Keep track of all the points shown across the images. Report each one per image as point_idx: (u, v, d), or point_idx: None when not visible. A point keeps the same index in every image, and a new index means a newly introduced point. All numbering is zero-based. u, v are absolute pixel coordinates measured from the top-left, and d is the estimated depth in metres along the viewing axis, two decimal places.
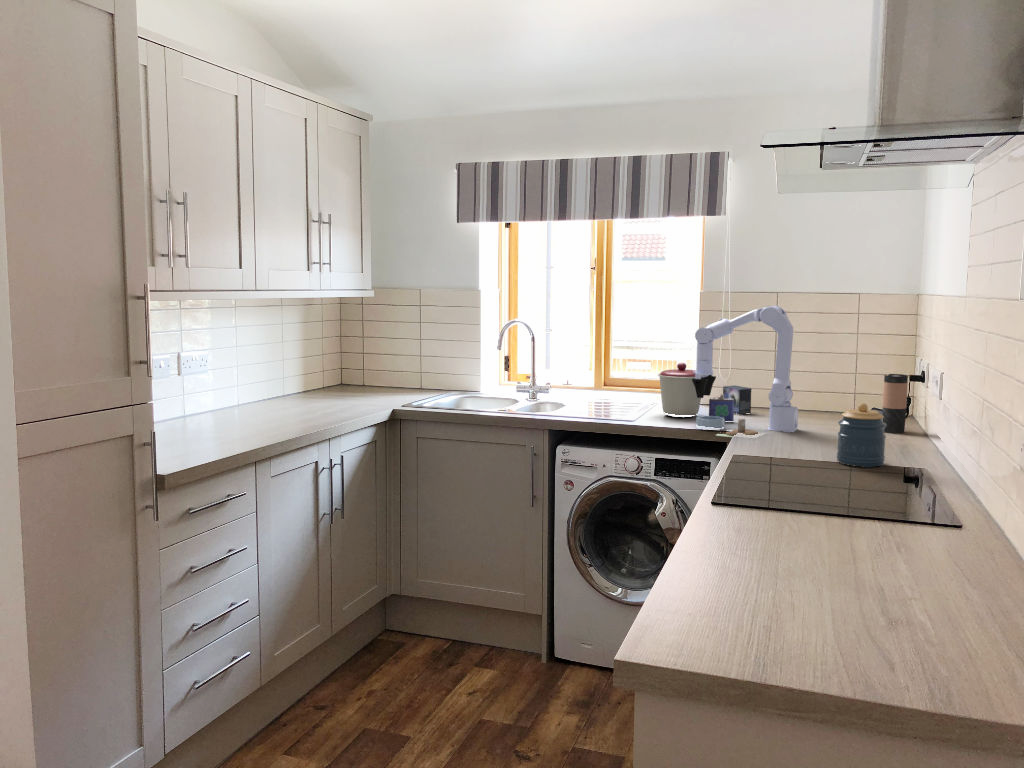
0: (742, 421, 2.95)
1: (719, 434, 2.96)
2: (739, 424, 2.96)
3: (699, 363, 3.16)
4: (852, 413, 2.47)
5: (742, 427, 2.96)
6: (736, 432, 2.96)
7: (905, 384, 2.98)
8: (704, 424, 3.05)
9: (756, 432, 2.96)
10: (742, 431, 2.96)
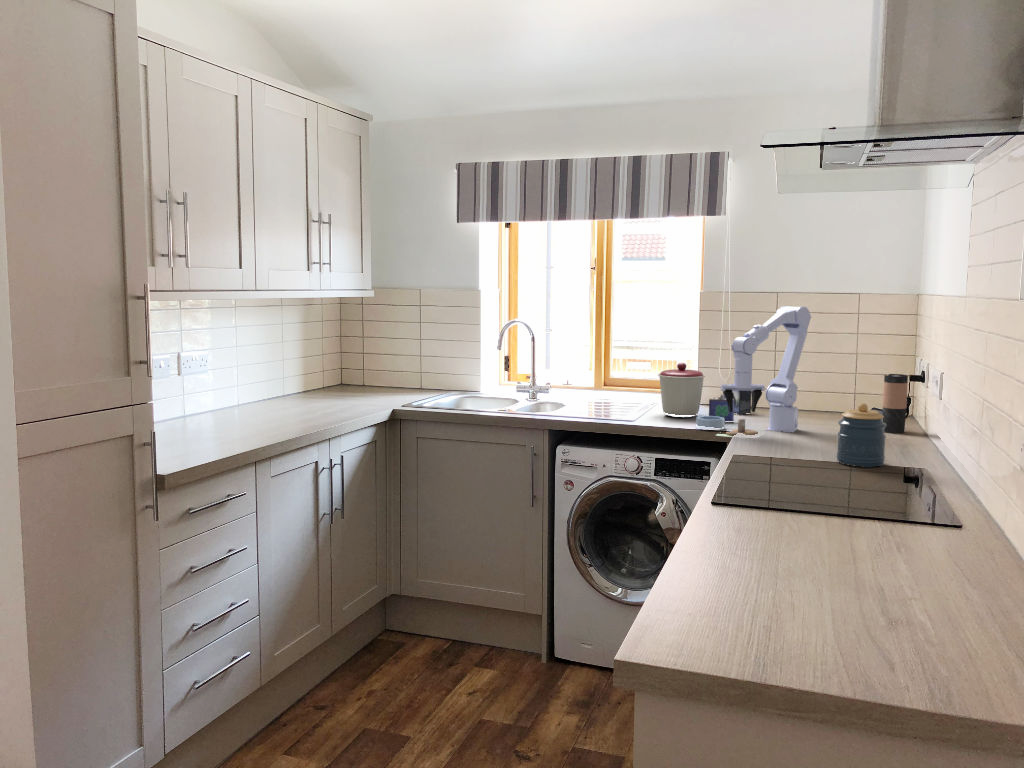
0: (742, 421, 2.95)
1: (719, 434, 2.96)
2: (739, 424, 2.96)
3: None
4: (852, 413, 2.47)
5: (742, 427, 2.96)
6: (736, 432, 2.96)
7: (905, 384, 2.98)
8: (704, 424, 3.05)
9: (756, 432, 2.96)
10: (742, 431, 2.96)
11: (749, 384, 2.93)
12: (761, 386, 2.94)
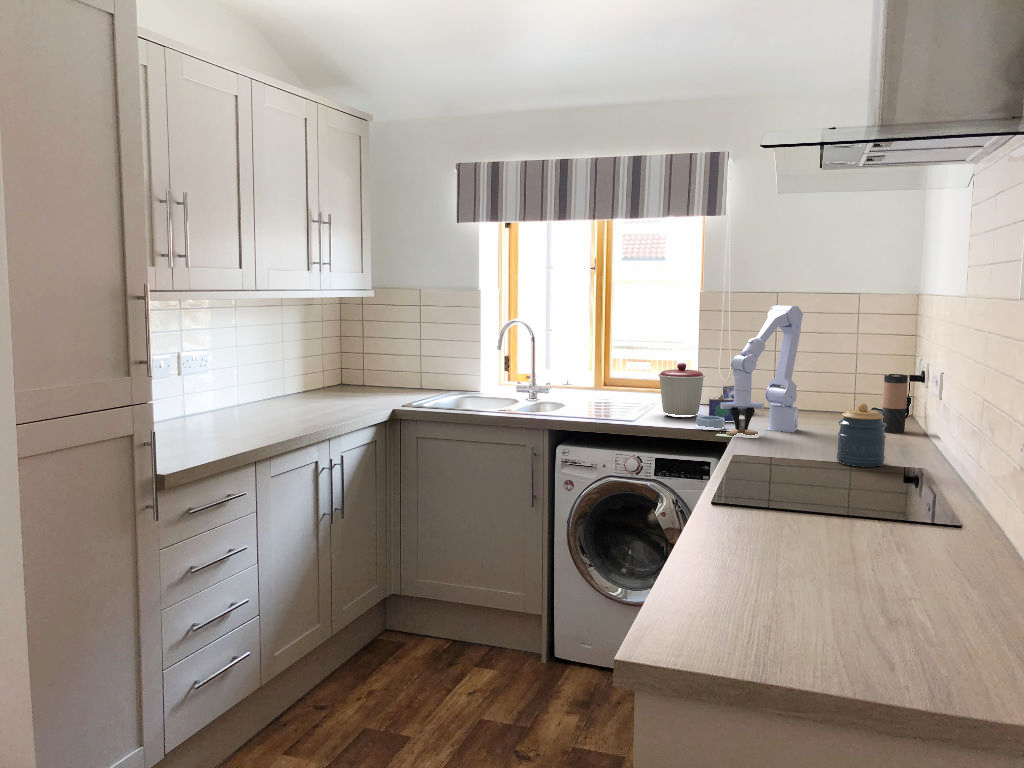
0: (742, 421, 2.95)
1: (719, 434, 2.96)
2: (739, 424, 2.96)
3: None
4: (852, 413, 2.47)
5: (742, 427, 2.96)
6: (736, 432, 2.96)
7: (905, 384, 2.98)
8: (704, 424, 3.05)
9: (756, 432, 2.96)
10: (742, 431, 2.96)
11: (748, 402, 2.93)
12: (760, 404, 2.95)
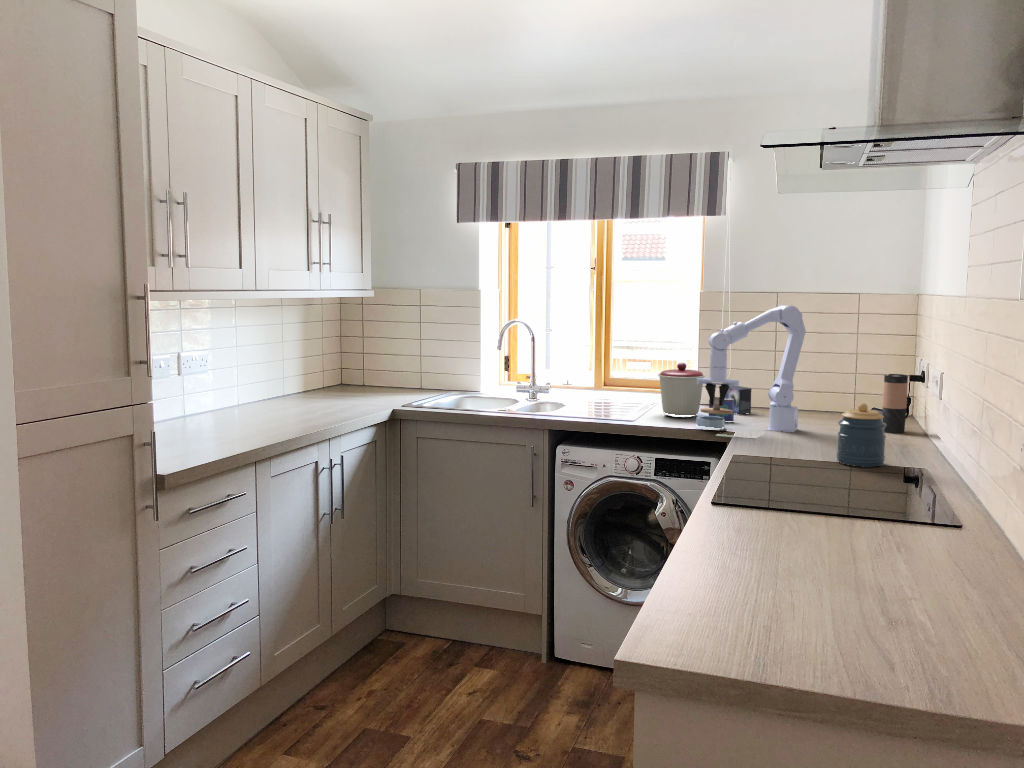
0: (716, 399, 3.04)
1: (719, 434, 2.96)
2: (714, 402, 3.04)
3: None
4: (852, 413, 2.47)
5: (716, 405, 3.04)
6: (710, 409, 3.04)
7: (905, 384, 2.98)
8: (704, 424, 3.05)
9: (729, 411, 3.02)
10: (716, 409, 3.04)
11: (720, 378, 3.01)
12: (734, 381, 3.00)
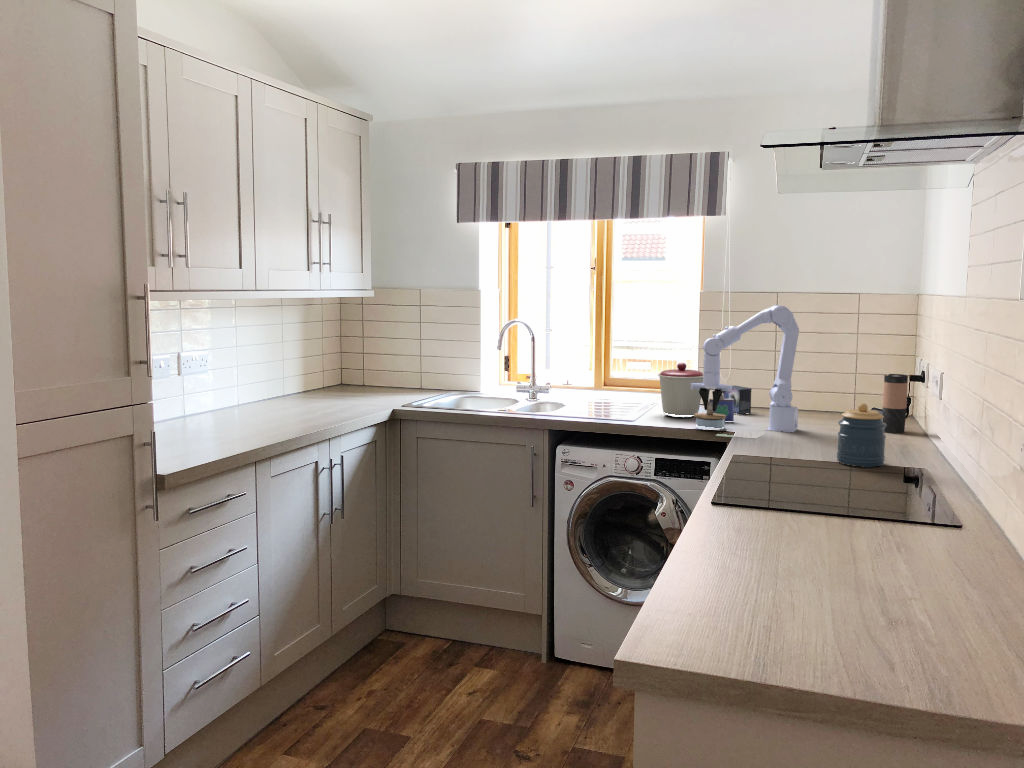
0: (709, 404, 3.06)
1: (719, 434, 2.96)
2: (707, 407, 3.07)
3: None
4: (852, 413, 2.47)
5: (709, 410, 3.07)
6: (703, 414, 3.07)
7: (905, 384, 2.98)
8: (704, 424, 3.05)
9: (723, 416, 3.05)
10: (709, 414, 3.07)
11: (713, 384, 3.04)
12: (727, 386, 3.03)
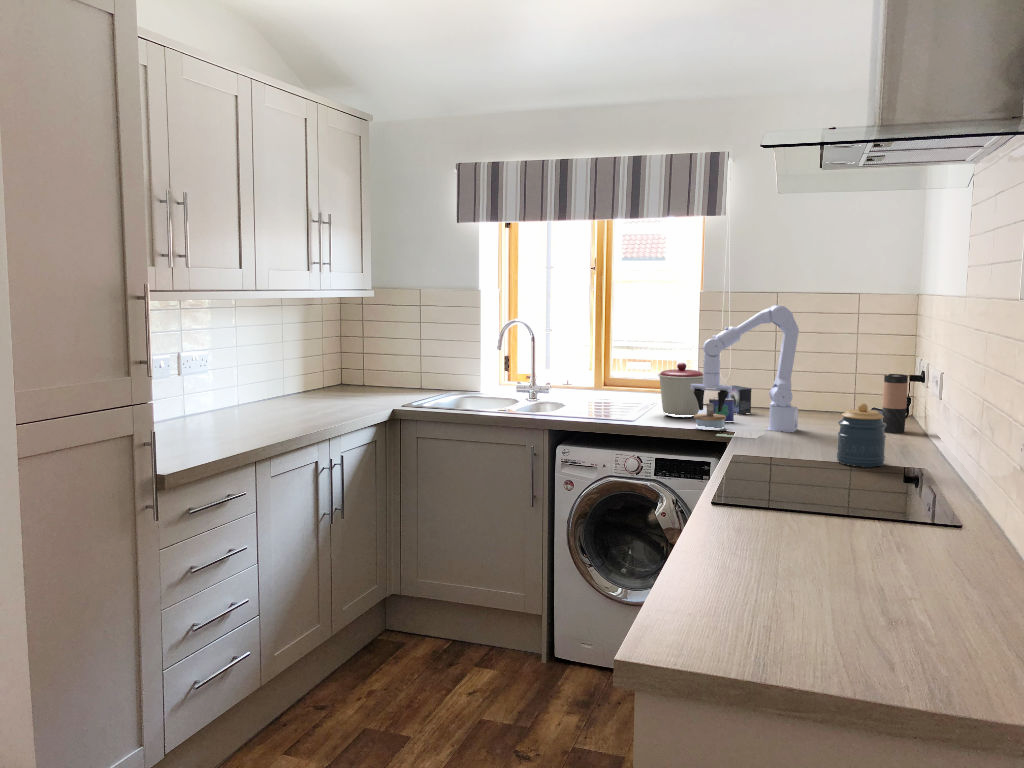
0: (709, 405, 3.06)
1: (719, 434, 2.96)
2: (707, 408, 3.07)
3: None
4: (852, 413, 2.47)
5: (709, 411, 3.07)
6: (703, 416, 3.07)
7: (905, 384, 2.98)
8: (704, 424, 3.05)
9: (723, 417, 3.05)
10: (709, 415, 3.07)
11: (713, 384, 3.04)
12: (727, 387, 3.03)
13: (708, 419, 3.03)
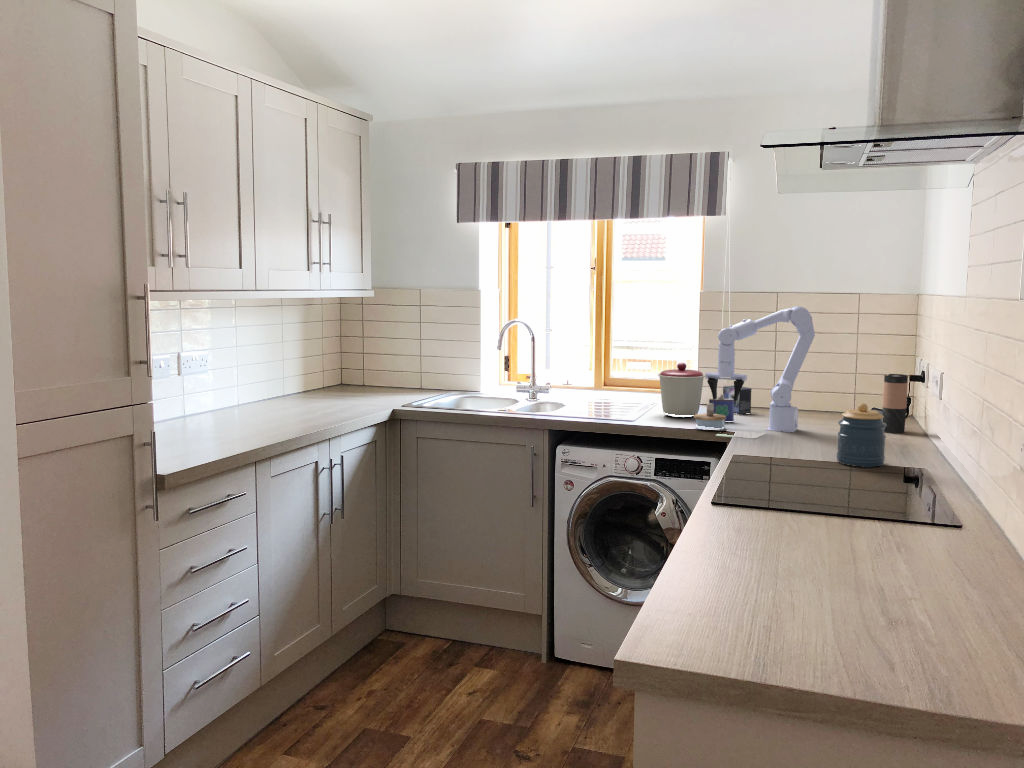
0: (709, 405, 3.06)
1: (719, 434, 2.96)
2: (707, 408, 3.07)
3: None
4: (852, 413, 2.47)
5: (709, 411, 3.07)
6: (703, 416, 3.07)
7: (905, 384, 2.98)
8: (704, 424, 3.05)
9: (723, 417, 3.05)
10: (709, 415, 3.07)
11: (728, 373, 3.05)
12: (742, 376, 3.04)
13: (708, 419, 3.03)
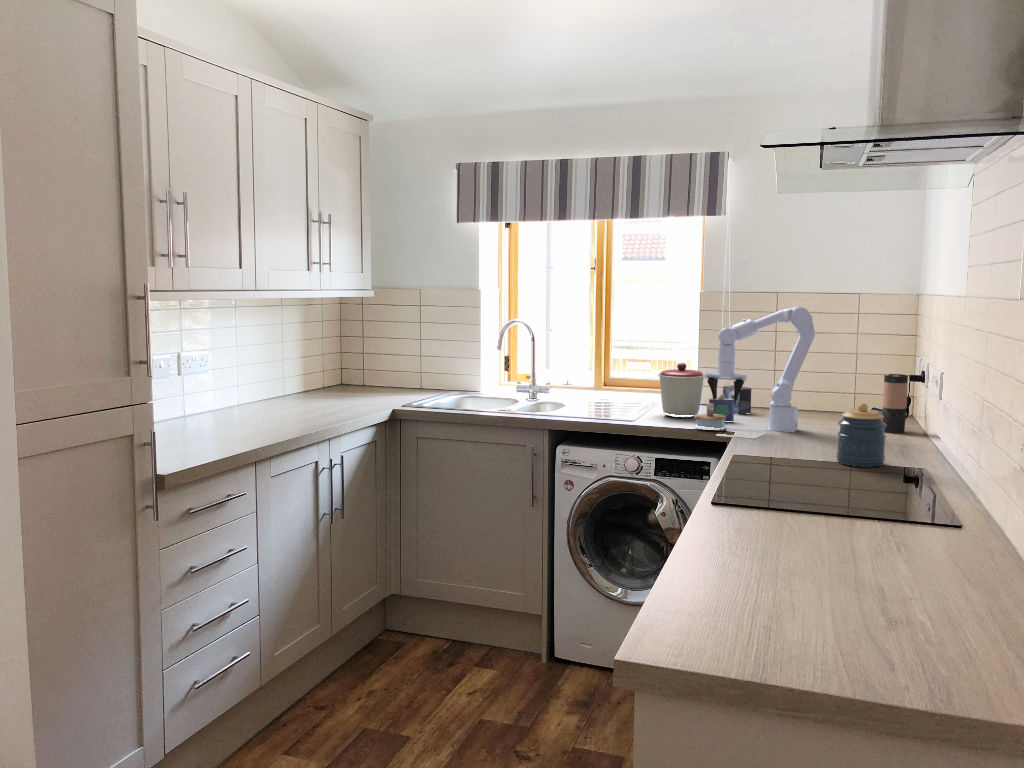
0: (709, 405, 3.06)
1: (719, 434, 2.96)
2: (707, 408, 3.07)
3: None
4: (852, 413, 2.47)
5: (709, 411, 3.07)
6: (703, 416, 3.07)
7: (905, 384, 2.98)
8: (704, 424, 3.05)
9: (723, 417, 3.05)
10: (709, 415, 3.07)
11: (728, 373, 3.05)
12: (742, 376, 3.04)
13: (708, 419, 3.03)
